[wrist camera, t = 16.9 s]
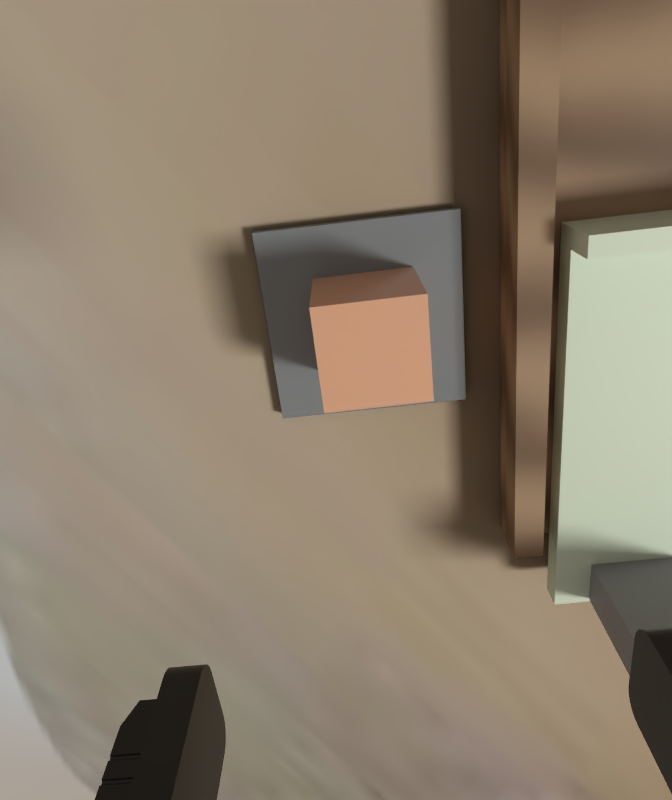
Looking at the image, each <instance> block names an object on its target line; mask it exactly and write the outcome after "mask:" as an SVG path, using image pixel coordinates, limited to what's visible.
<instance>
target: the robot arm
mask: <svg viewBox="0 0 672 800" xmlns="http://www.w3.org/2000/svg"><path fill="white" fill-rule="evenodd" d="M629 698H630V703H631V707H632V711H633V714H634V717H635V720H636V722H637V724H638V726H639V728H640V730H641V732H642V734H643V736H644V738H645V741H646V743H647V745H648V747H649V749H650V751H651V753H652V755H653V757H654V759H655V761H656V763H657V765H658V767H659V769H660V771H661V773H662V775H663V777H664V779H665V781H666V783H667V785H668V787H669V789H670V791H671V793H672V627H661V628H649V629H639V630H637V631H636V634H635V638H634V646H633V654H632V663H631V671H630V679H629ZM225 741H226V733H225V721H224V716H223V712H222V709H221V705H220V701H219V698H218V694H217V690H216V687H215V683H214V680H213V676H212V672H211V669H210V667H209V666H208V665H195V666H183V667H171V668H168V669H167V671H166V672H165V674H164V677H163V680H162V684H161V687H160V690H159V694H158V697H157V699H152V700H140V701H139V702H138V704H137V705H136V706H135V708H134V709H133V710H132V711H131V713H130V714H129V715H128V717H127V718H126V719H125V721H124V722H123V723H122V725H121V726H120V729H119V731H118V734H117V737H116V740H115V743H114V746H113V749H112V752H111V754H110V761H108V763H107V766H106V769H105V772H104V775H103V777H102V785H101V786H99V789H98V792H97V795H96V798H95V800H217V794H218V789H219V783H220V777H221V771H222V765H223V759H224V753H225Z"/></svg>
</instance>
